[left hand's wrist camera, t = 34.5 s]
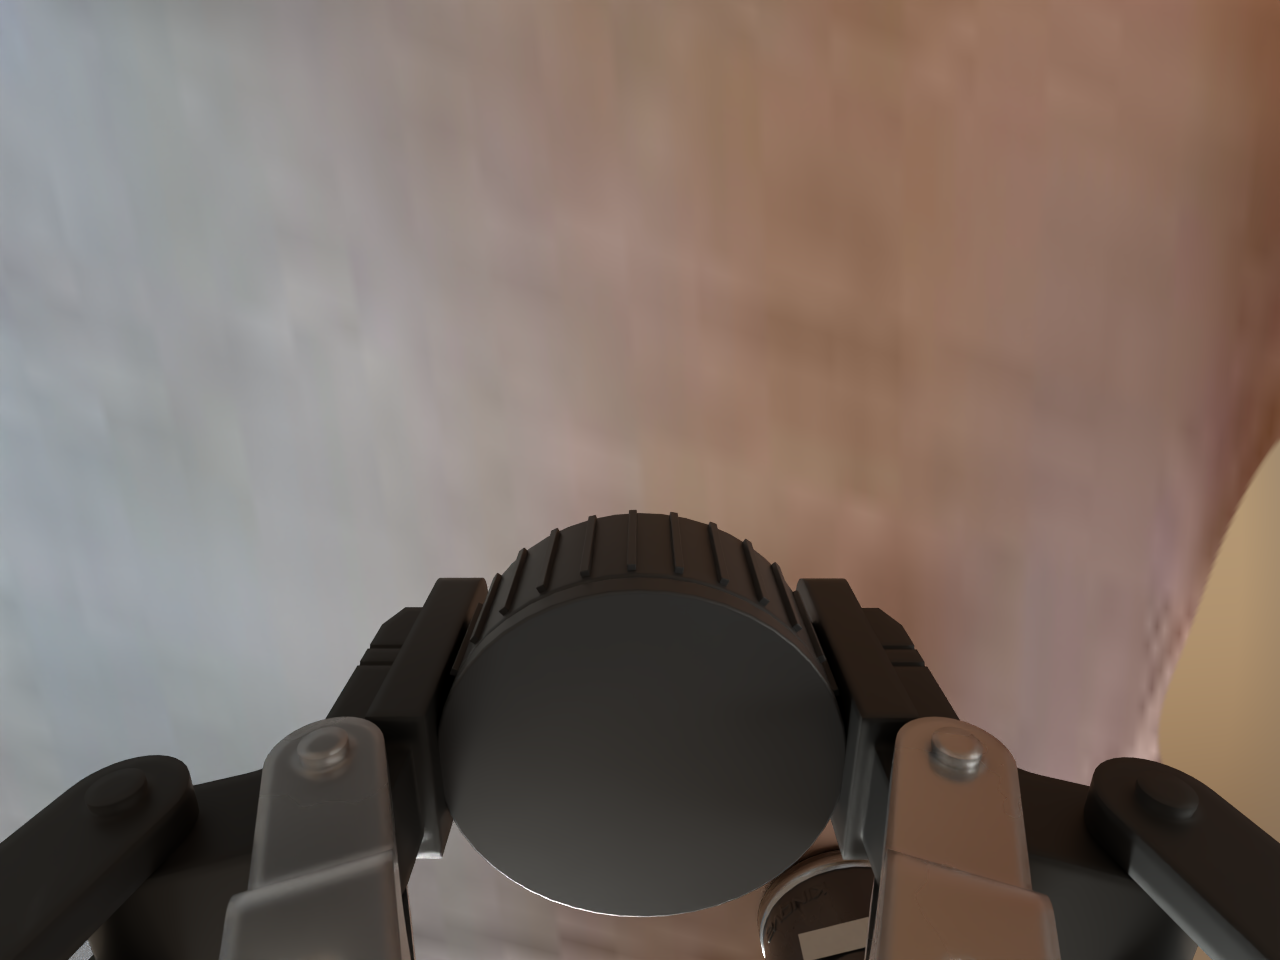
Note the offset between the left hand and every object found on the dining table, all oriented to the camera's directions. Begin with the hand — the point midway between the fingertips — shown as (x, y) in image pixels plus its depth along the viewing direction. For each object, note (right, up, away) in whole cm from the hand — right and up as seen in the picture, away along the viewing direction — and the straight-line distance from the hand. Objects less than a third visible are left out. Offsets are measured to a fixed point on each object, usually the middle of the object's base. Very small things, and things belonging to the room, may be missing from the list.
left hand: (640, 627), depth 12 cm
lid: (0, -1, -3) cm, 3 cm away
